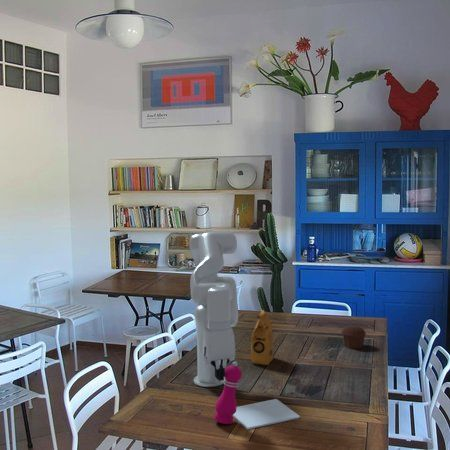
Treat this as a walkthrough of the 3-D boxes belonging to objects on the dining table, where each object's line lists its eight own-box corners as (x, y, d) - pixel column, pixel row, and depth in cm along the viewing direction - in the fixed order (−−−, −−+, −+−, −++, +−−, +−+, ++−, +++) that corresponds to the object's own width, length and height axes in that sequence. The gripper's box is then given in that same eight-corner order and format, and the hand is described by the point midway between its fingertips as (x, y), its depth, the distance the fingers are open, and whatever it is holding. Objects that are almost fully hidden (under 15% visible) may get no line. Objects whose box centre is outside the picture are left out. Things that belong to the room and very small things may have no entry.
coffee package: (247, 364, 232) (247, 315, 231) (254, 355, 244) (254, 308, 242) (269, 366, 229) (269, 316, 228) (275, 357, 241) (275, 310, 239)
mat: (226, 410, 185) (226, 408, 185) (276, 400, 193) (276, 398, 193) (247, 429, 170) (247, 427, 170) (299, 417, 178) (299, 416, 178)
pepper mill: (233, 418, 179) (245, 361, 180) (234, 426, 172) (246, 366, 172) (212, 414, 179) (224, 356, 179) (212, 422, 172) (225, 362, 172)
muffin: (363, 342, 261) (364, 323, 260) (367, 349, 250) (367, 329, 249) (339, 342, 262) (339, 322, 262) (342, 349, 251) (342, 328, 251)
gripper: (235, 319, 179) (235, 372, 180) (193, 324, 173) (194, 379, 174) (244, 324, 172) (245, 379, 173) (202, 330, 166) (202, 386, 167)
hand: (219, 379), depth 174 cm, fingers closed
